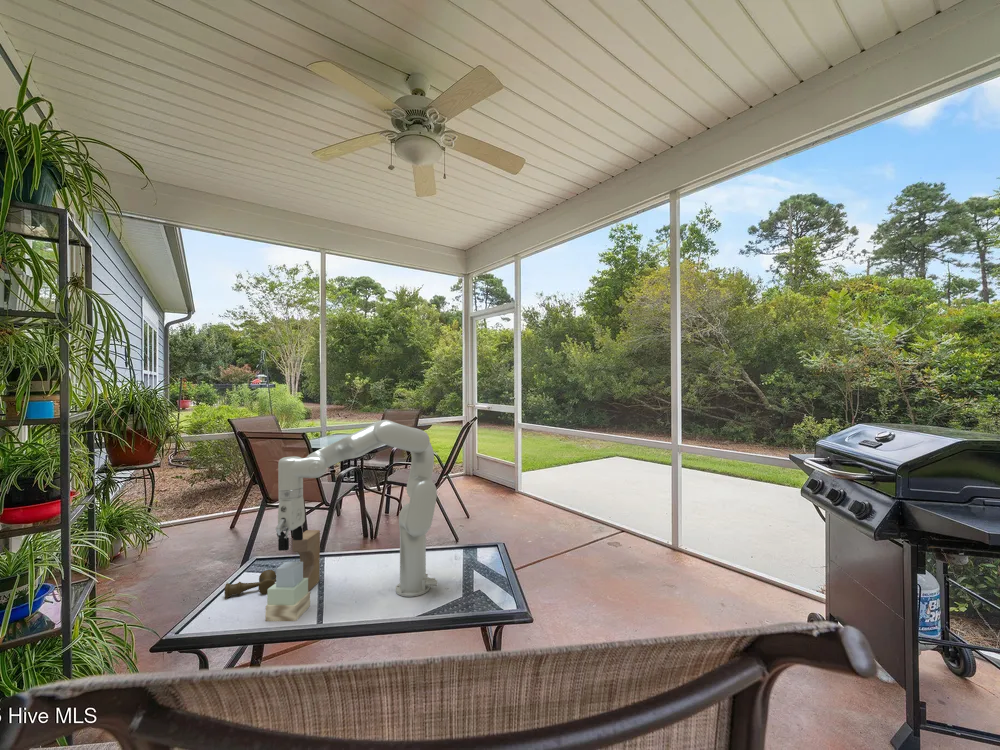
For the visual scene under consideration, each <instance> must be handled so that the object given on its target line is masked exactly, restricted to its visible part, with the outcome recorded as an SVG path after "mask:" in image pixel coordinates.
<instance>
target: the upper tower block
mask: <svg viewBox="0 0 1000 750" xmlns="http://www.w3.org/2000/svg"><path fill="white" fill-rule="evenodd" d="M307 593H308V578H303V580H302V581H301V582H299V583H298V584H297V585H296V586H295V587H276V582H275V584H274V585H273V586H271V587H270V588H269V589H267V594H266V596H267V597H266V599H267V602H266V603H267V604H266V605H295V604H296V603H297V602H298V601H299V600H301V599H302V598H303V597H304V596H305V595H306V594H307Z"/></svg>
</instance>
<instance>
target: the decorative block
mask: <svg viewBox="0 0 1000 750" xmlns="http://www.w3.org/2000/svg"><path fill="white" fill-rule="evenodd" d="M320 546H321V531H320V530H319V529H307V530H305V531H303V539H302V540H293V539H292V553H298V555H299V562H303V578H308V592H311V590H312V589H313V588H314V587H315V586H316V585H317V584H318V583H319V582H320V571H321V569H320V565H321V563H320V561H321V560H320V558H321V557H320V556H321V552H320V551H321V547H320Z"/></svg>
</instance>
